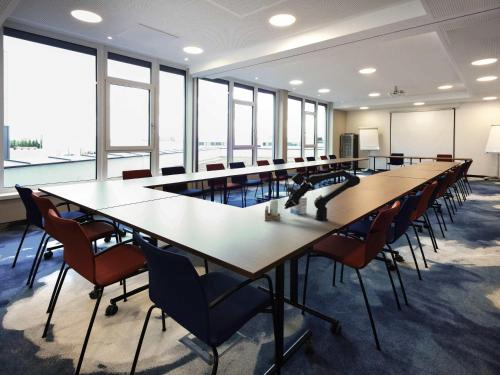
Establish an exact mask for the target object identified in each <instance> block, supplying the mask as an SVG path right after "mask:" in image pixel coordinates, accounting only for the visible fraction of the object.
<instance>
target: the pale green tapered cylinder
mask: <svg viewBox="0 0 500 375" xmlns="http://www.w3.org/2000/svg"><path fill="white" fill-rule="evenodd" d="M278 208H279V200H278V199H270V200H269V213H270V216H278V212H279V211H278V210H279V209H278Z"/></svg>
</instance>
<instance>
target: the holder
mask: <svg viewBox="0 0 500 375" xmlns="http://www.w3.org/2000/svg"><path fill="white" fill-rule="evenodd" d="M279 220H280V221H281V213H280V212H279V213H278V216H270V212H269V205H265V208H264V221H265V222H268V221H279Z"/></svg>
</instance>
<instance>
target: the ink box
mask: <svg viewBox="0 0 500 375" xmlns="http://www.w3.org/2000/svg"><path fill="white" fill-rule="evenodd" d="M307 204H308V197H307V196H305V195H304V196H303V197H301V198H300V200H299V204H298V205H296V206H293V207H290V208H289V209H290V210H289V212H290V213H291V214H294V215H296V214H297V215H305V213H306V214H307V210H308V209H307Z"/></svg>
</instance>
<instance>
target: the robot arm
mask: <svg viewBox="0 0 500 375" xmlns="http://www.w3.org/2000/svg"><path fill="white" fill-rule="evenodd" d="M341 177H343V178H344V179H346V180H345V181H344V182H343V183H342V184H341V185H338V186H337V187H335V188H334V189H333V190H331V191H330V192H328V193H327V194H325V195H324V196H322V195H321V194H320V195H319V196H318V197H316V198H315V199H314V202H313V204H314V207H315V208H316V213H315V218H314V220H315V221H319V222H325V221H329V218H328V207H327V206H326V205H327V204H328V203H329V202H330V201H332V200H333V199H334V198H336V197H337V196H339V195H340V194H342V193H344V192H345V191H346V190H348V189H350V188H354V187H355V186H357V185H359V184H360V183H361V178H360V177H359V176H358V175H355V174H351V173H349V172H347V171H346V170H345V169H340V170H336V171H332V172H327V173H322V174H311V175H310V176H307V177H306V176H305V177H304V175H302V174H301V173H300V171H299V172H297V173H296V174H294V175H293V176H292V177H291V181H292V182H293V183H294V184H295V185H296V186H299V187H297V188H294V187H293V186H290V185H287V187H286V188H285V192H289V194H288V199H287V200H286V202H284V203H285V204H284V209H285V210H288V209H290V207H293V206H296V205H298V204H299V200H300V198H301V197H303V196H304V197H305V195H306V194H307V193H309V191H310V190H311V191H314V190H315V189H314V188H315V187H314V186H315V185H318V184H320V183H323V182H324V181H328V180H332V179H333V180H334V179H337V178H341Z"/></svg>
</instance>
